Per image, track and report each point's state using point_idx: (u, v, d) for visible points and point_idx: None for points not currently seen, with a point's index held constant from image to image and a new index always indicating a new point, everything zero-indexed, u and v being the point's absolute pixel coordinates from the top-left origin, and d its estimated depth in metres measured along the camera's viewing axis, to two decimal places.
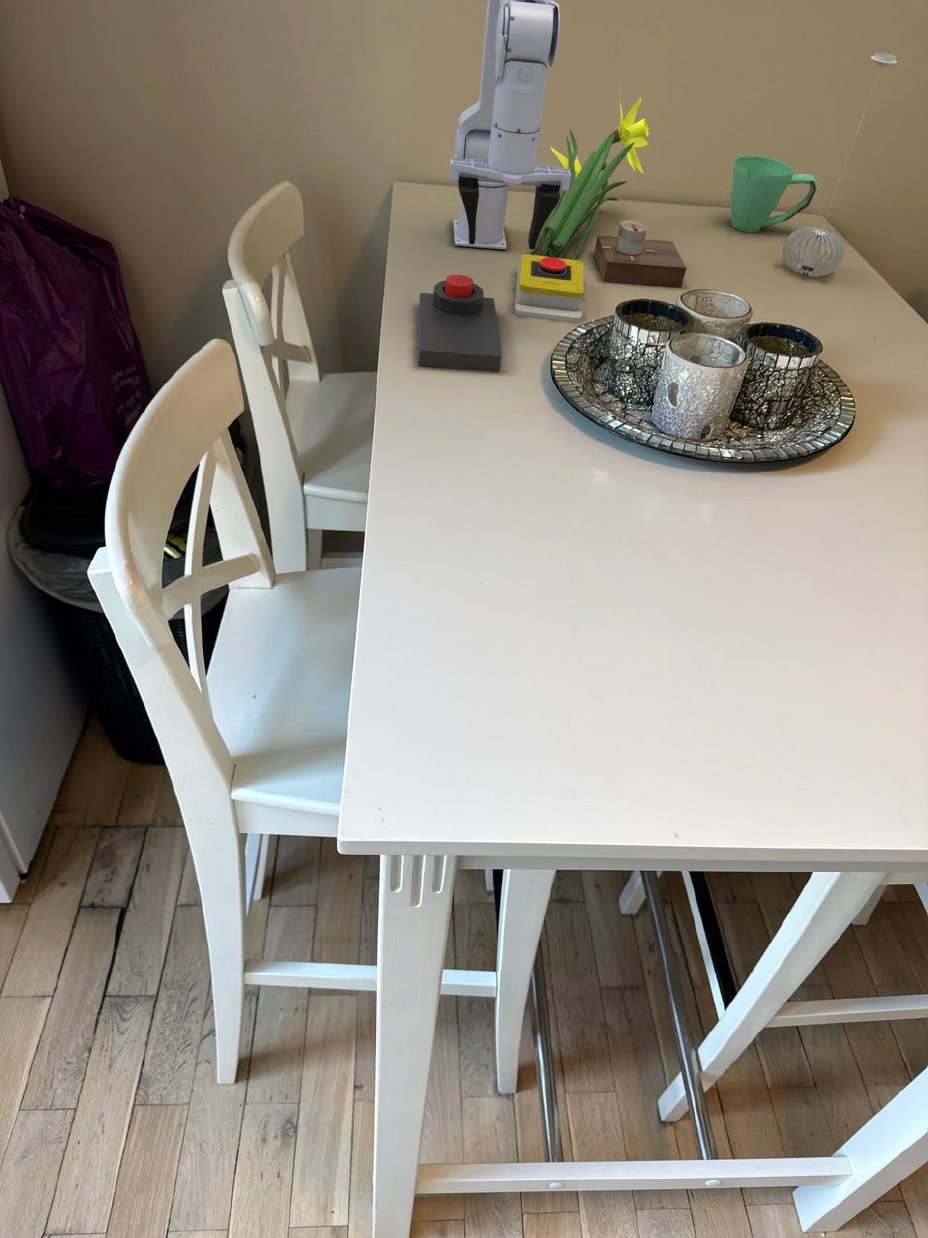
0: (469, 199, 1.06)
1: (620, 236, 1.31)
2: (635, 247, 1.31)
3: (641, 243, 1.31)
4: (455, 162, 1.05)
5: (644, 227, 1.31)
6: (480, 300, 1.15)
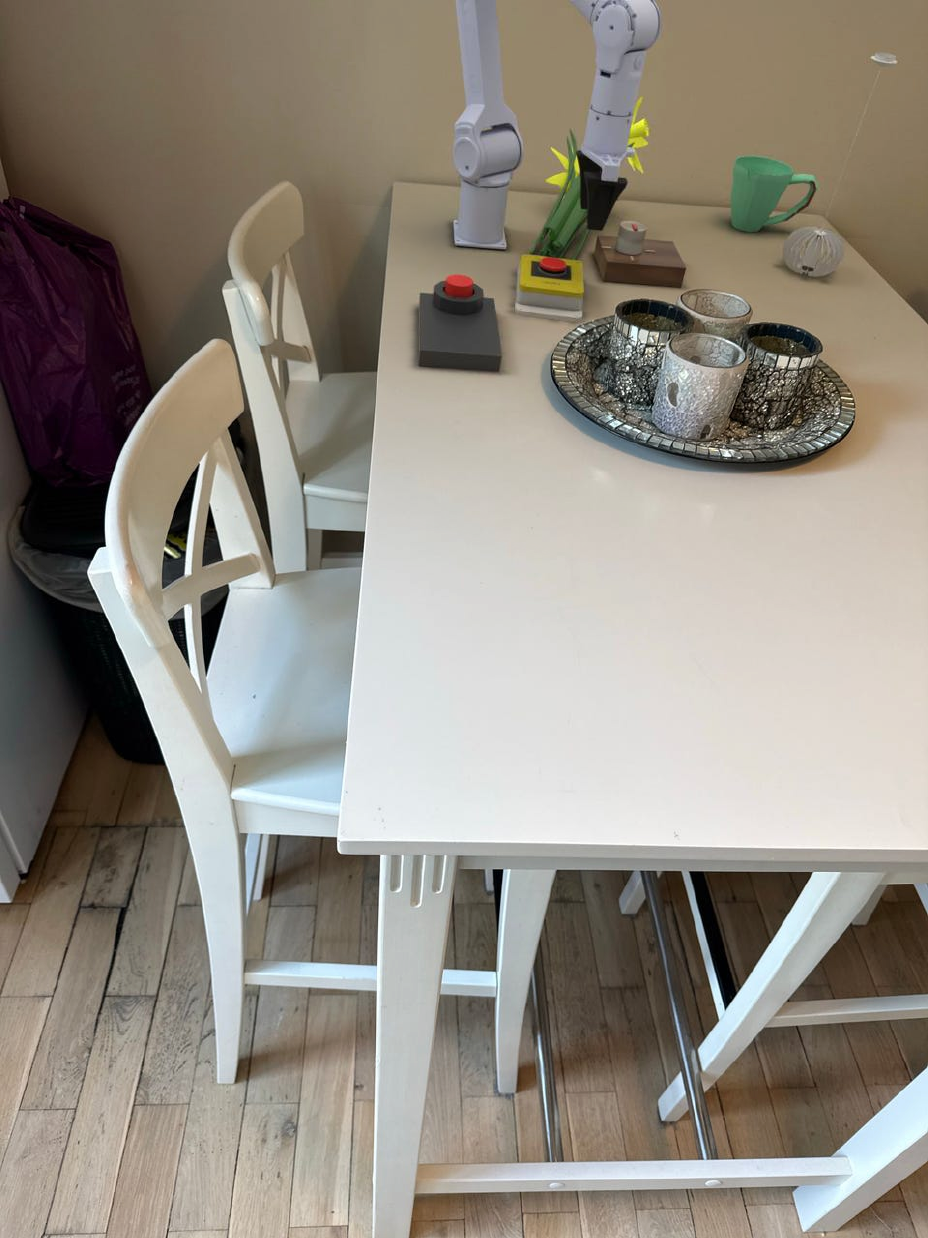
0: None
1: (620, 236, 1.31)
2: (635, 247, 1.31)
3: (641, 243, 1.31)
4: None
5: (644, 227, 1.31)
6: (480, 300, 1.15)
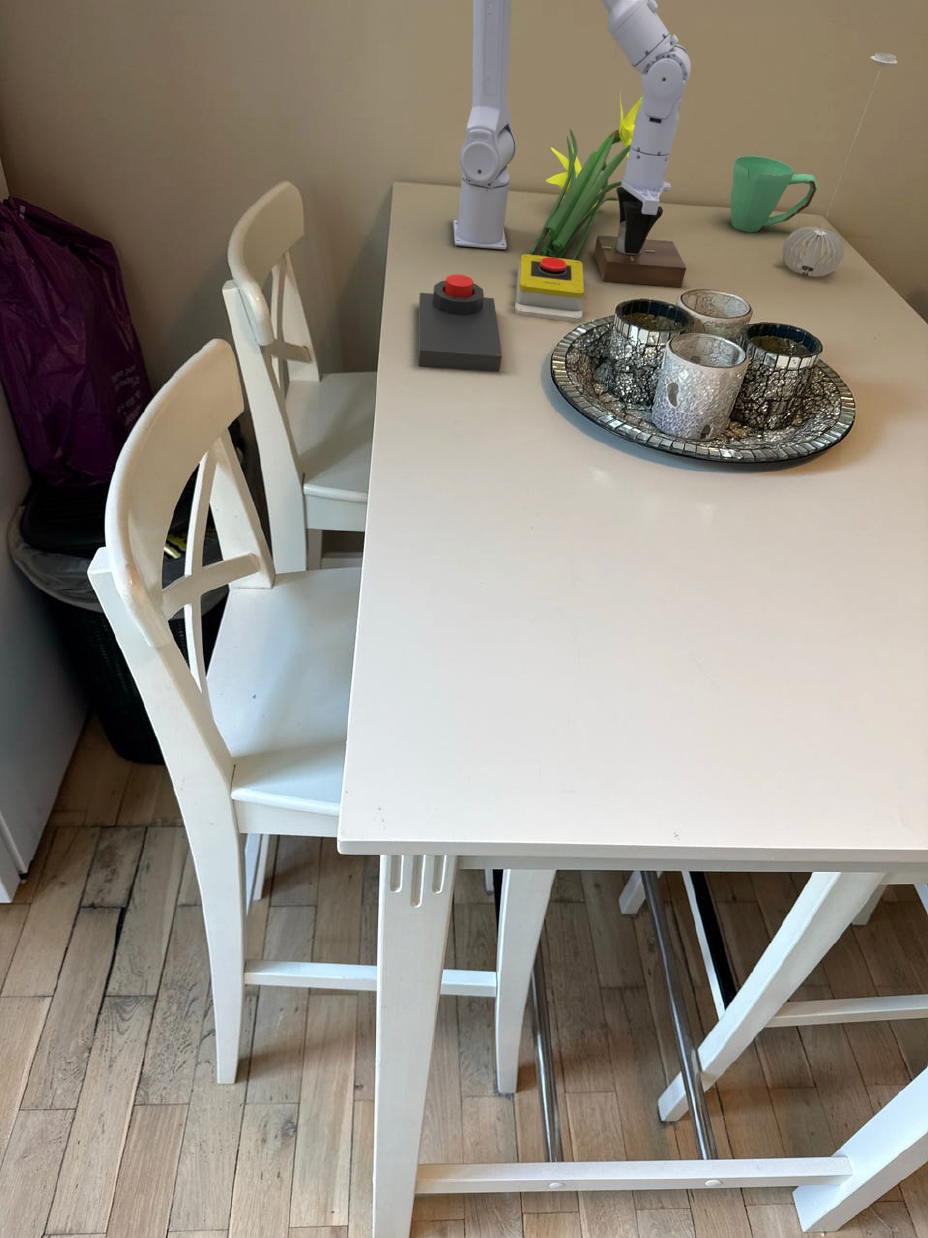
0: None
1: (620, 236, 1.31)
2: None
3: None
4: (652, 199, 1.22)
5: None
6: (480, 300, 1.15)
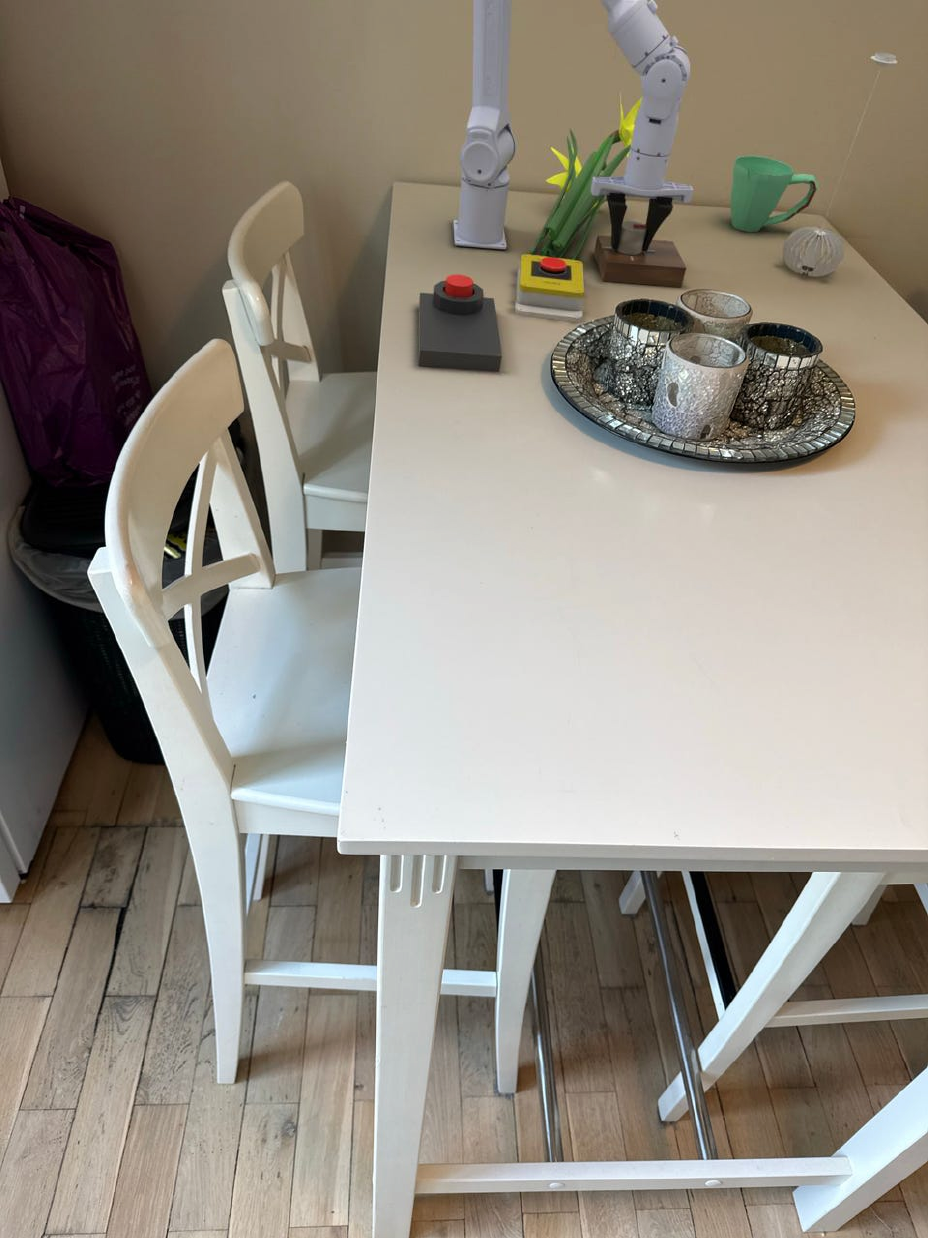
0: None
1: (638, 240, 1.30)
2: None
3: None
4: (688, 187, 1.27)
5: (633, 221, 1.32)
6: (480, 300, 1.15)
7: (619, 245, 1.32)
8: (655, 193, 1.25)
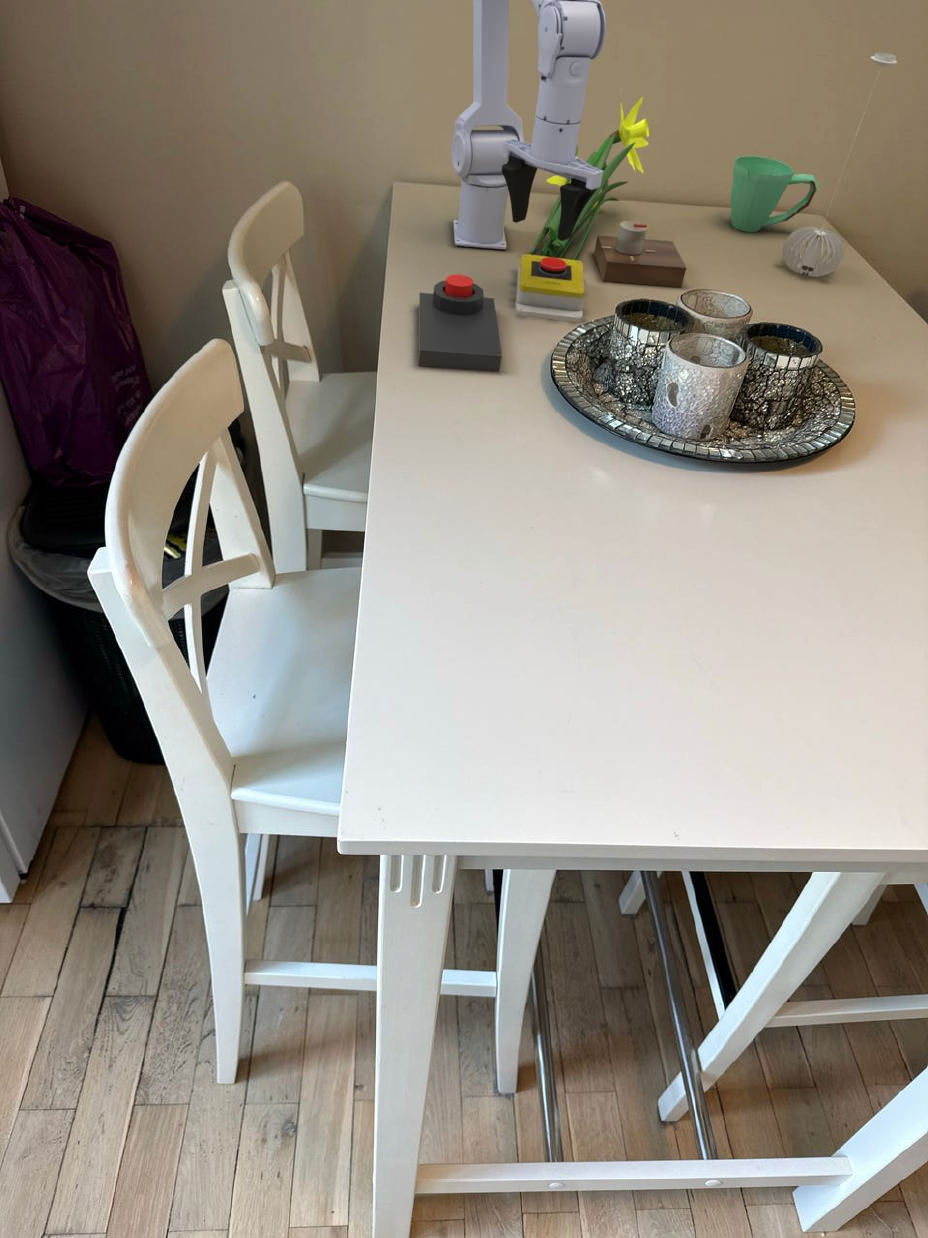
0: None
1: (638, 240, 1.30)
2: None
3: None
4: (595, 171, 1.09)
5: (633, 221, 1.32)
6: (480, 300, 1.15)
7: (619, 245, 1.32)
8: (547, 166, 1.10)
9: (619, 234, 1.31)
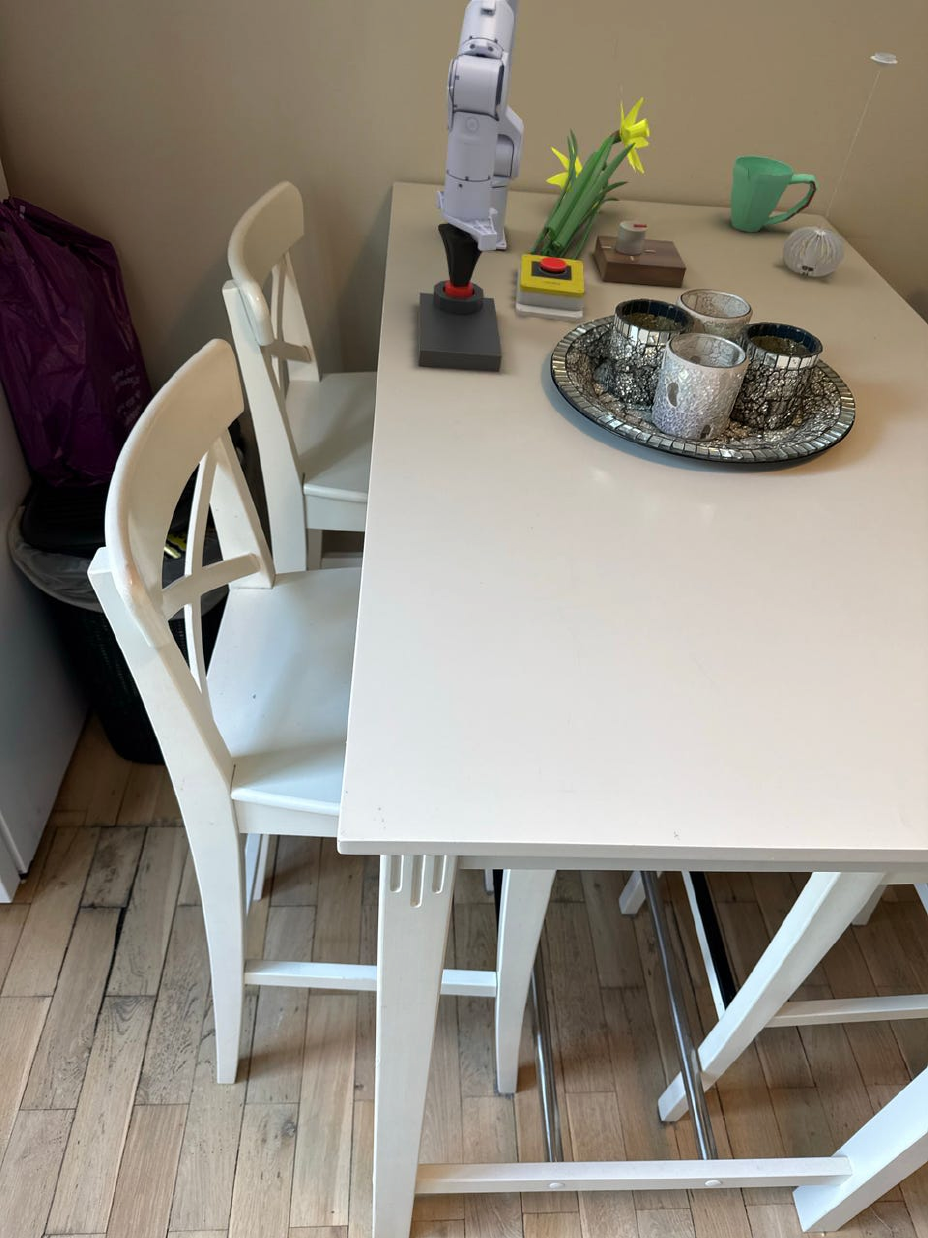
0: None
1: (638, 240, 1.30)
2: None
3: None
4: (489, 233, 1.04)
5: (633, 221, 1.32)
6: (480, 300, 1.15)
7: (619, 245, 1.32)
8: (449, 220, 1.07)
9: (619, 234, 1.31)
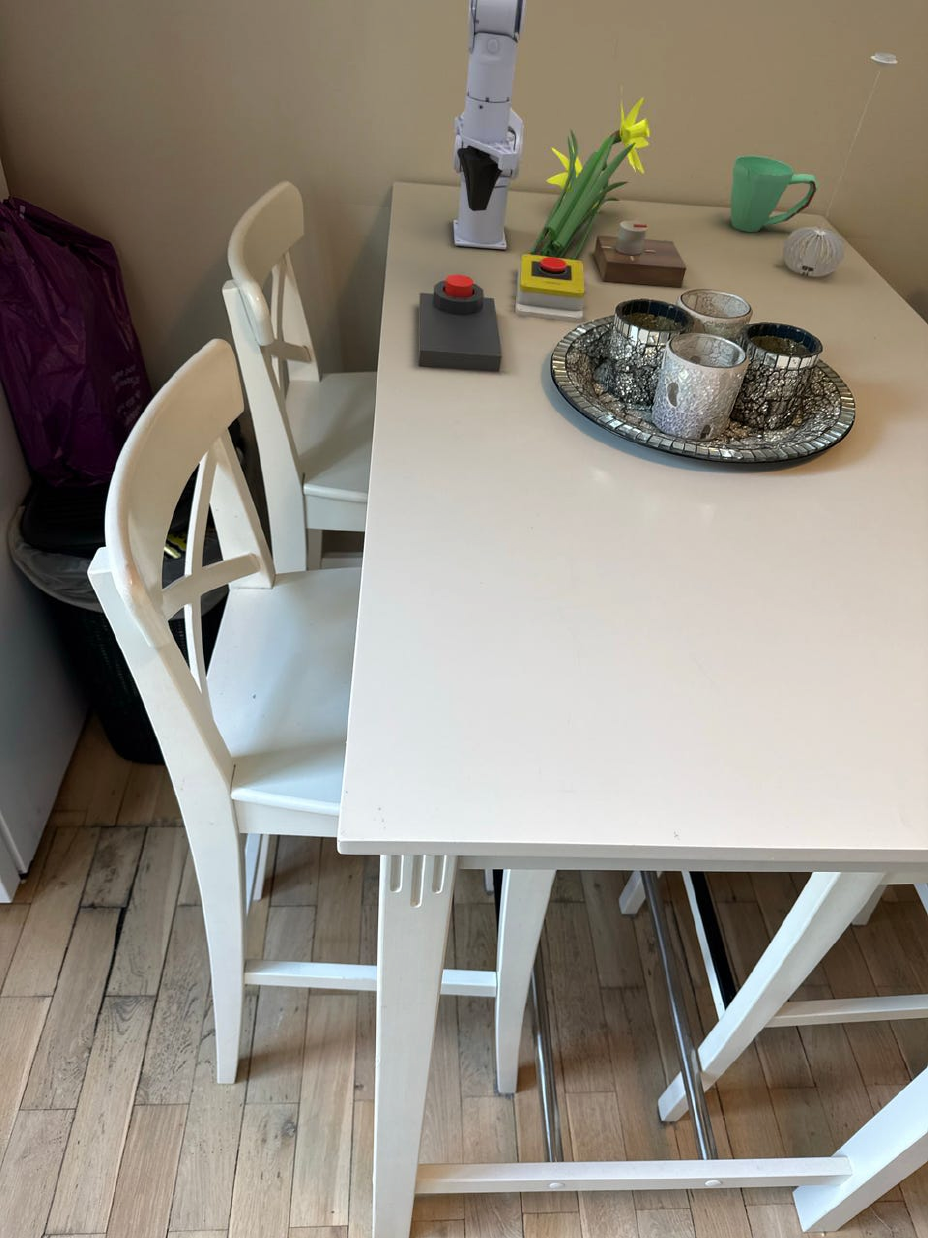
0: None
1: (638, 240, 1.30)
2: None
3: None
4: (508, 152, 1.09)
5: (633, 221, 1.32)
6: (480, 300, 1.15)
7: (619, 245, 1.32)
8: (469, 142, 1.11)
9: (619, 234, 1.31)
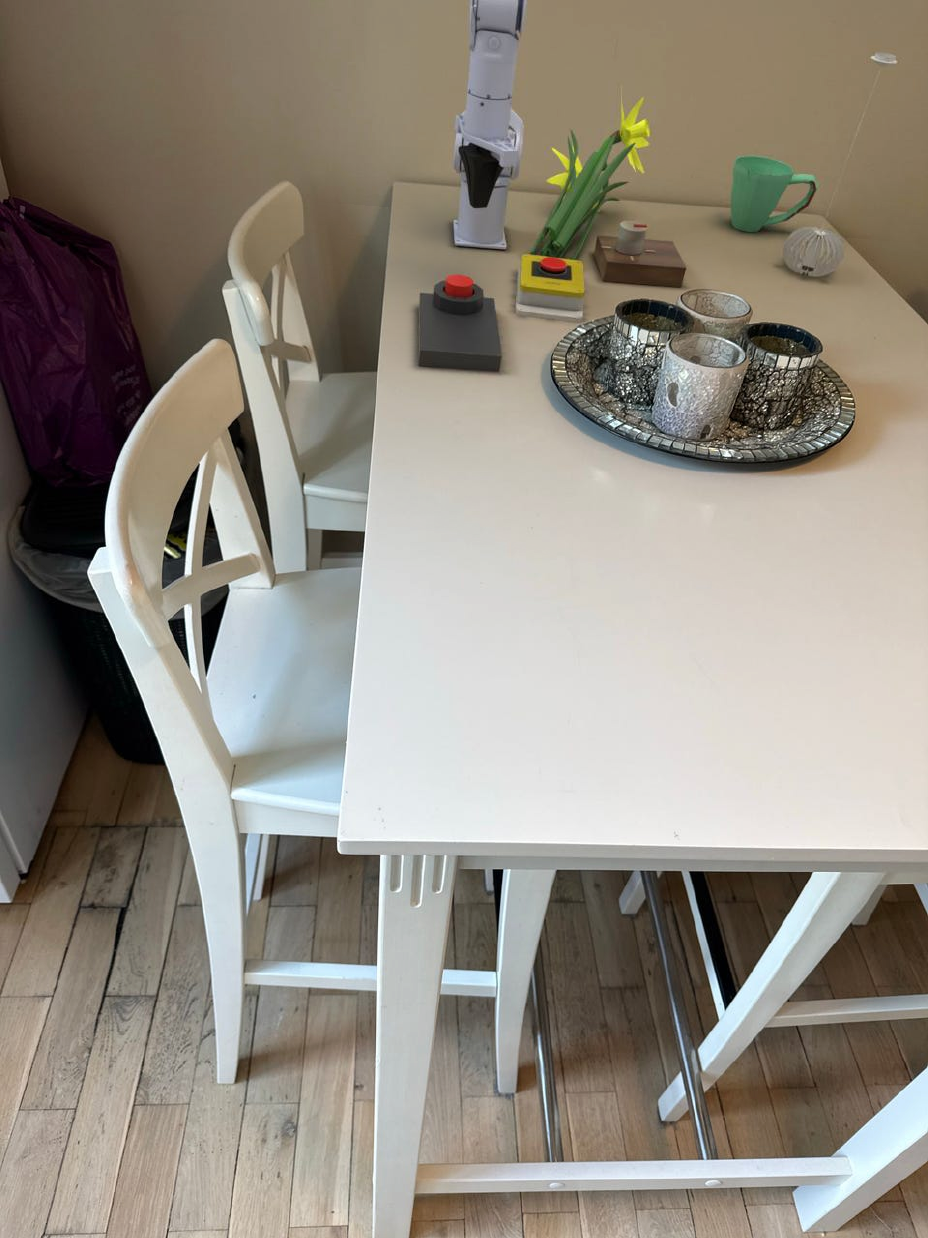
0: None
1: (638, 240, 1.30)
2: None
3: None
4: (510, 149, 1.09)
5: (633, 221, 1.32)
6: (480, 300, 1.15)
7: (619, 245, 1.32)
8: (470, 139, 1.12)
9: (619, 234, 1.31)
